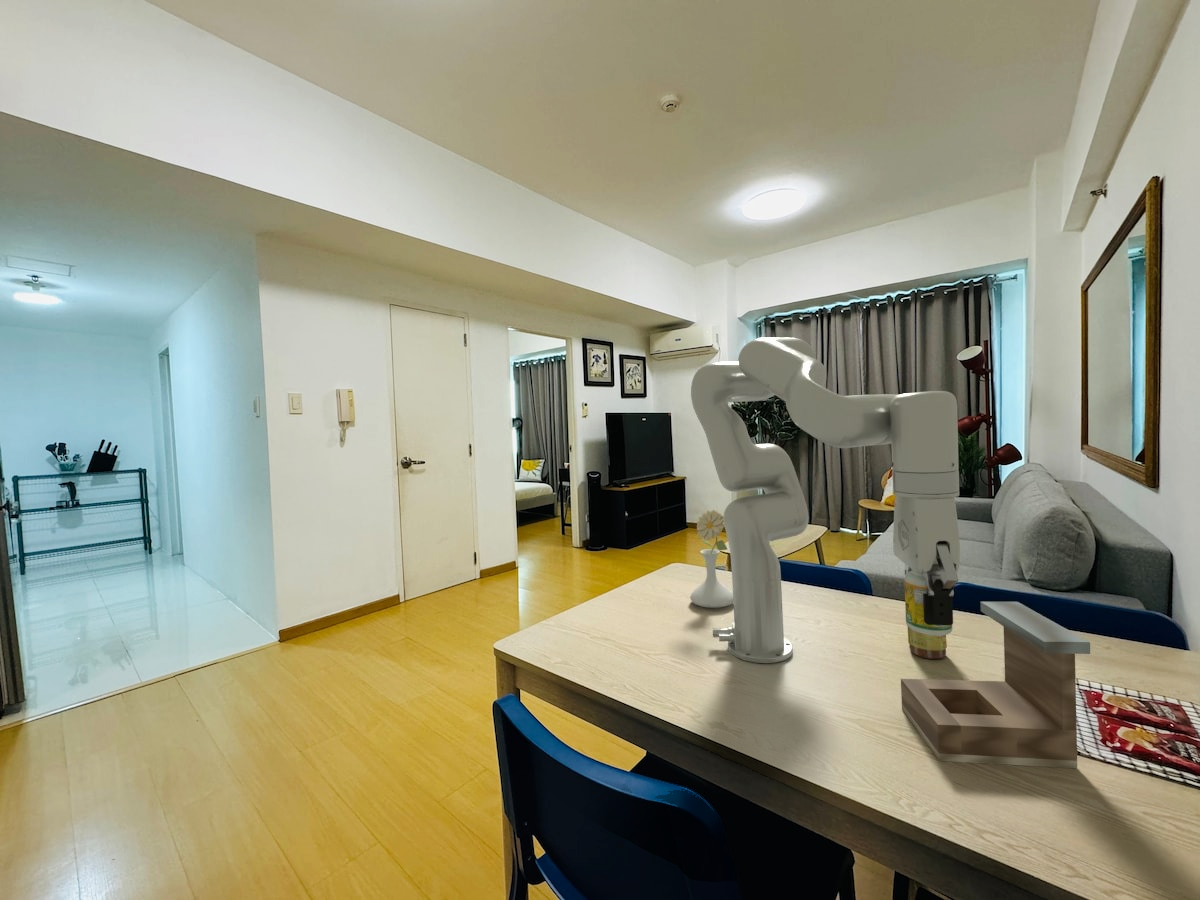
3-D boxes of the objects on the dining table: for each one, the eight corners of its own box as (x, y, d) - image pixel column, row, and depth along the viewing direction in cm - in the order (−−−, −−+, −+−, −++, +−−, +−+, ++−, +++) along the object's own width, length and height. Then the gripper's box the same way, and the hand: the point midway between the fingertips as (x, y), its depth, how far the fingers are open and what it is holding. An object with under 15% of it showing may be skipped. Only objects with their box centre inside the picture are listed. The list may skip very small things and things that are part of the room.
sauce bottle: (953, 661, 92) (950, 555, 91) (916, 660, 93) (912, 556, 92) (937, 645, 98) (933, 546, 97) (902, 644, 99) (898, 547, 98)
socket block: (942, 765, 65) (938, 640, 65) (899, 705, 79) (895, 601, 78) (1092, 774, 62) (1090, 642, 61) (1020, 710, 76) (1017, 601, 75)
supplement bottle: (949, 640, 64) (947, 567, 64) (901, 630, 68) (899, 561, 67) (955, 626, 68) (953, 557, 68) (910, 617, 72) (908, 552, 71)
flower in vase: (683, 600, 132) (677, 507, 131) (720, 593, 135) (715, 503, 134) (707, 617, 119) (701, 515, 118) (748, 609, 123) (743, 509, 122)
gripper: (874, 477, 76) (878, 592, 77) (919, 494, 59) (923, 641, 60) (929, 475, 74) (932, 593, 75) (991, 492, 58) (994, 644, 59)
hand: (928, 613), depth 68 cm, fingers closed on supplement bottle, 5 cm apart
